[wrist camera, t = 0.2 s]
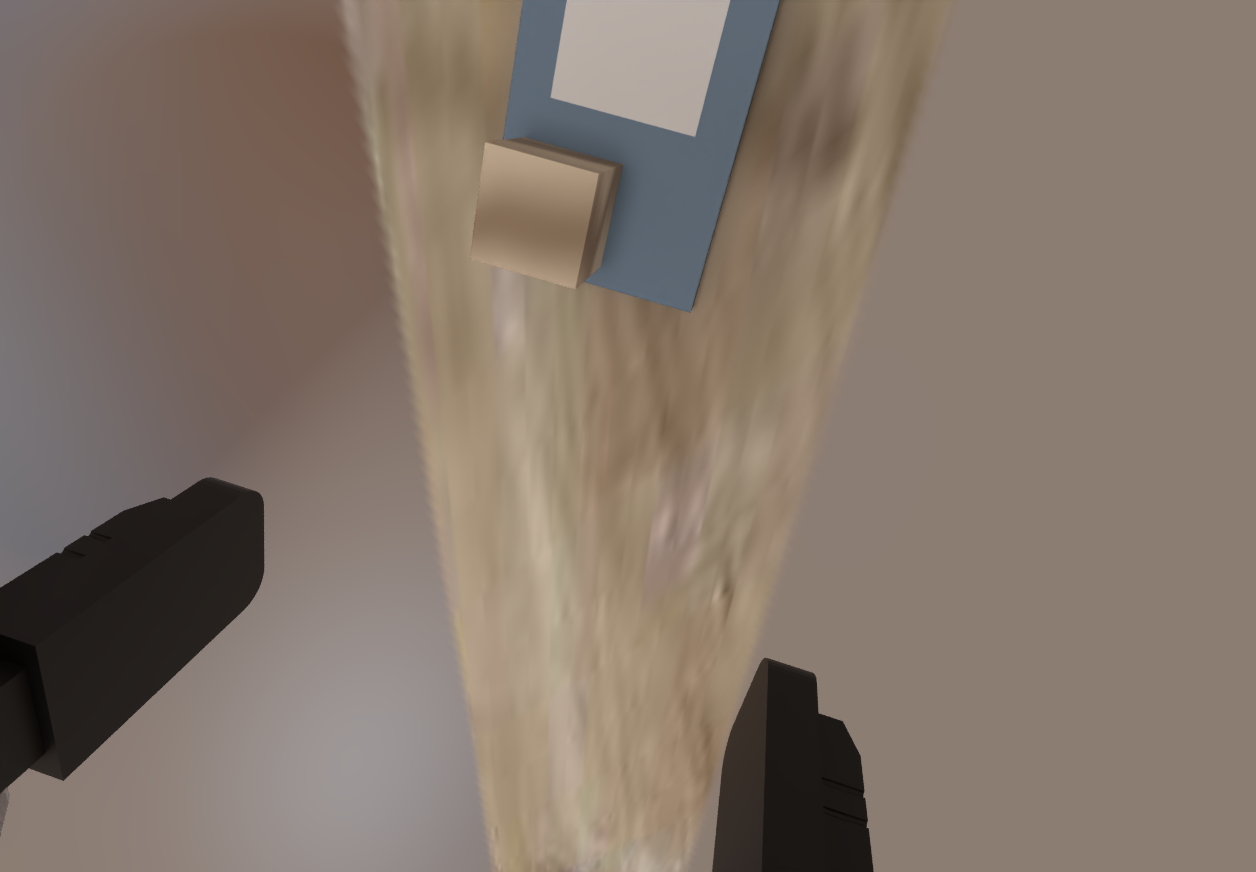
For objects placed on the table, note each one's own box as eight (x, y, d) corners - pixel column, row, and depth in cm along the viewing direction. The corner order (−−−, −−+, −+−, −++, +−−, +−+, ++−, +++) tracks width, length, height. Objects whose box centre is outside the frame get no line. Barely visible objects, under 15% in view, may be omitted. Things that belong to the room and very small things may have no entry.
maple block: (523, 137, 34) (485, 142, 30) (623, 164, 34) (598, 173, 30) (507, 239, 37) (469, 258, 32) (600, 266, 36) (575, 289, 32)
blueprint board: (579, -333, 28) (572, -349, 27) (857, -271, 27) (860, -285, 26) (493, 250, 38) (485, 253, 37) (692, 307, 37) (690, 313, 36)
